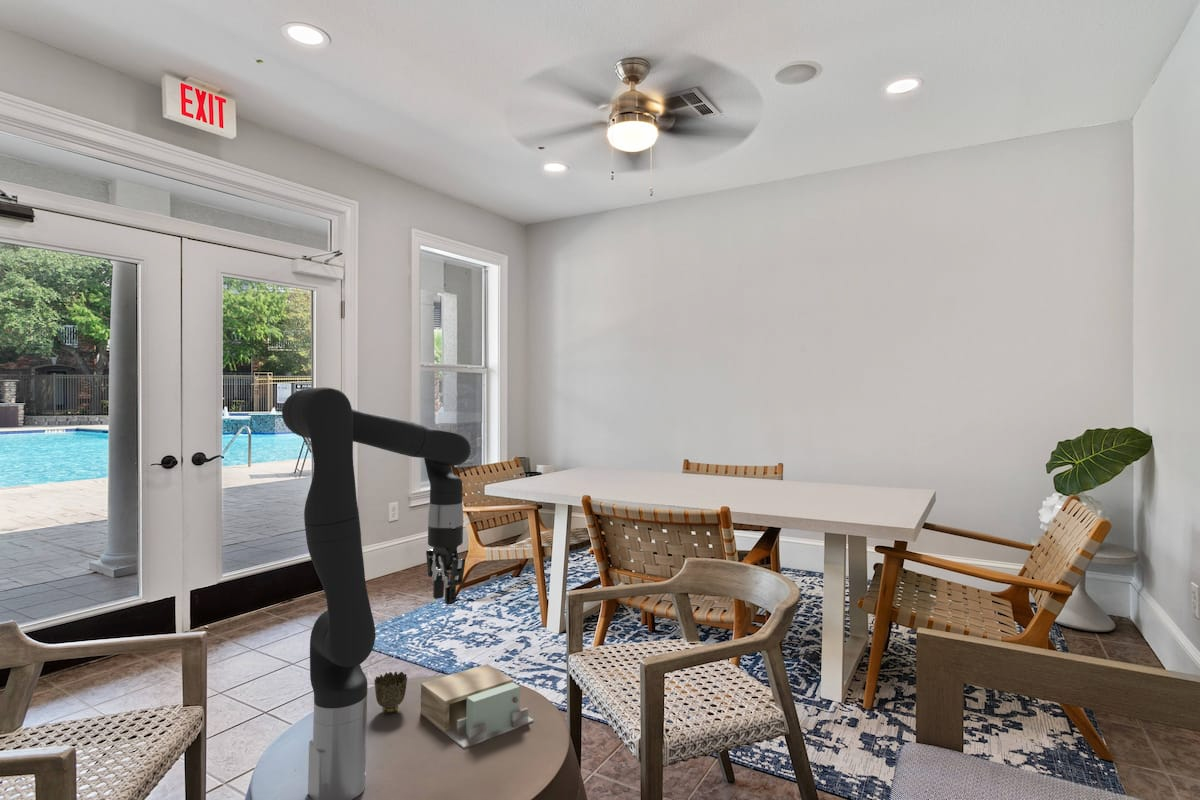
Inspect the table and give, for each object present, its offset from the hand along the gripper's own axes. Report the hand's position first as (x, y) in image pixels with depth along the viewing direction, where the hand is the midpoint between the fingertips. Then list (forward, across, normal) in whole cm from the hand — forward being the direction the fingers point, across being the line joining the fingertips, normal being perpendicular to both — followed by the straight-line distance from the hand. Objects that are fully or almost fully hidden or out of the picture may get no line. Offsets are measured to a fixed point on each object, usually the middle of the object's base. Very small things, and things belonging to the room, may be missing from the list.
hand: (444, 600), depth 136 cm
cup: (+30, -18, -4) cm, 35 cm away
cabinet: (+29, -2, +10) cm, 31 cm away
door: (+29, +5, +10) cm, 31 cm away
